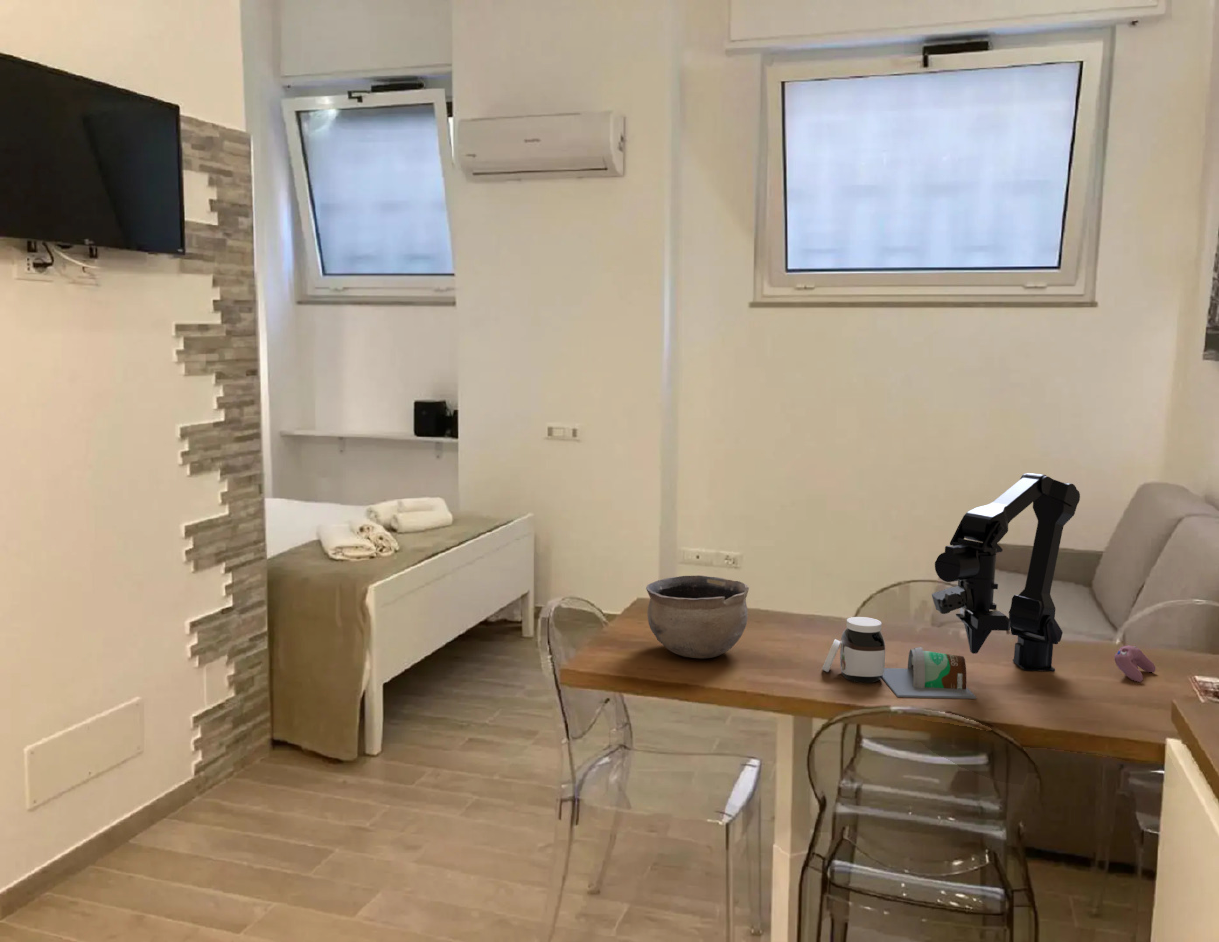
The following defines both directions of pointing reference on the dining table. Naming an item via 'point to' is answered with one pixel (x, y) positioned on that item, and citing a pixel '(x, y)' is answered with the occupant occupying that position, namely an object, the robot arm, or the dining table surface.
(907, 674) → the mat
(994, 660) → the dining table surface
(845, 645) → the spread jar
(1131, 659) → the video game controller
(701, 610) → the ceramic bowl
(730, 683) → the dining table surface
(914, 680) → the food container
